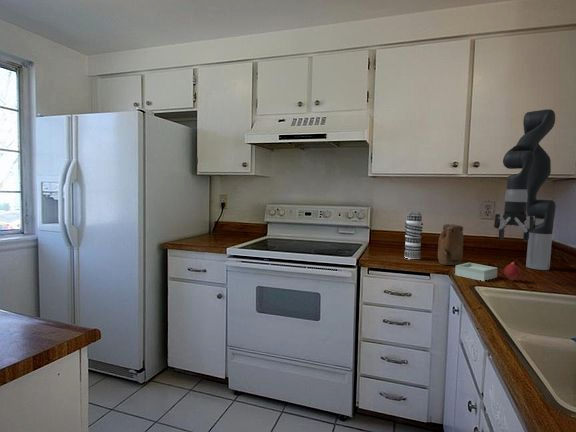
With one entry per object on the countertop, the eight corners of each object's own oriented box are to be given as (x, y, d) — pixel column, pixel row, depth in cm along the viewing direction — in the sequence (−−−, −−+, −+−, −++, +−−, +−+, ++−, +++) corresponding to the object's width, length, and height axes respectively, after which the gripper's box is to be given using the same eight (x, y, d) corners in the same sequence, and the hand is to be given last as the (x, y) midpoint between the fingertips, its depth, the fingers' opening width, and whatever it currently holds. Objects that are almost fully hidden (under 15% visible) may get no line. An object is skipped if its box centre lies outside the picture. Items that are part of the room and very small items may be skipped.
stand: (468, 271, 156) (469, 262, 156) (496, 277, 147) (497, 267, 146) (455, 274, 149) (455, 265, 149) (483, 281, 140) (484, 271, 139)
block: (452, 262, 176) (454, 223, 174) (463, 265, 169) (466, 225, 167) (434, 263, 173) (437, 224, 171) (445, 266, 166) (448, 225, 164)
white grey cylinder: (409, 255, 191) (412, 211, 189) (424, 258, 183) (427, 212, 181) (399, 257, 185) (401, 211, 183) (414, 260, 178) (417, 213, 176)
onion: (500, 280, 142) (502, 261, 141) (506, 278, 145) (508, 259, 145) (516, 283, 137) (517, 263, 136) (522, 281, 140) (523, 262, 140)
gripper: (540, 201, 135) (536, 241, 136) (500, 199, 147) (498, 237, 148) (532, 201, 131) (529, 243, 132) (492, 200, 142) (490, 238, 143)
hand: (513, 240), depth 140 cm, fingers open, 8 cm apart
